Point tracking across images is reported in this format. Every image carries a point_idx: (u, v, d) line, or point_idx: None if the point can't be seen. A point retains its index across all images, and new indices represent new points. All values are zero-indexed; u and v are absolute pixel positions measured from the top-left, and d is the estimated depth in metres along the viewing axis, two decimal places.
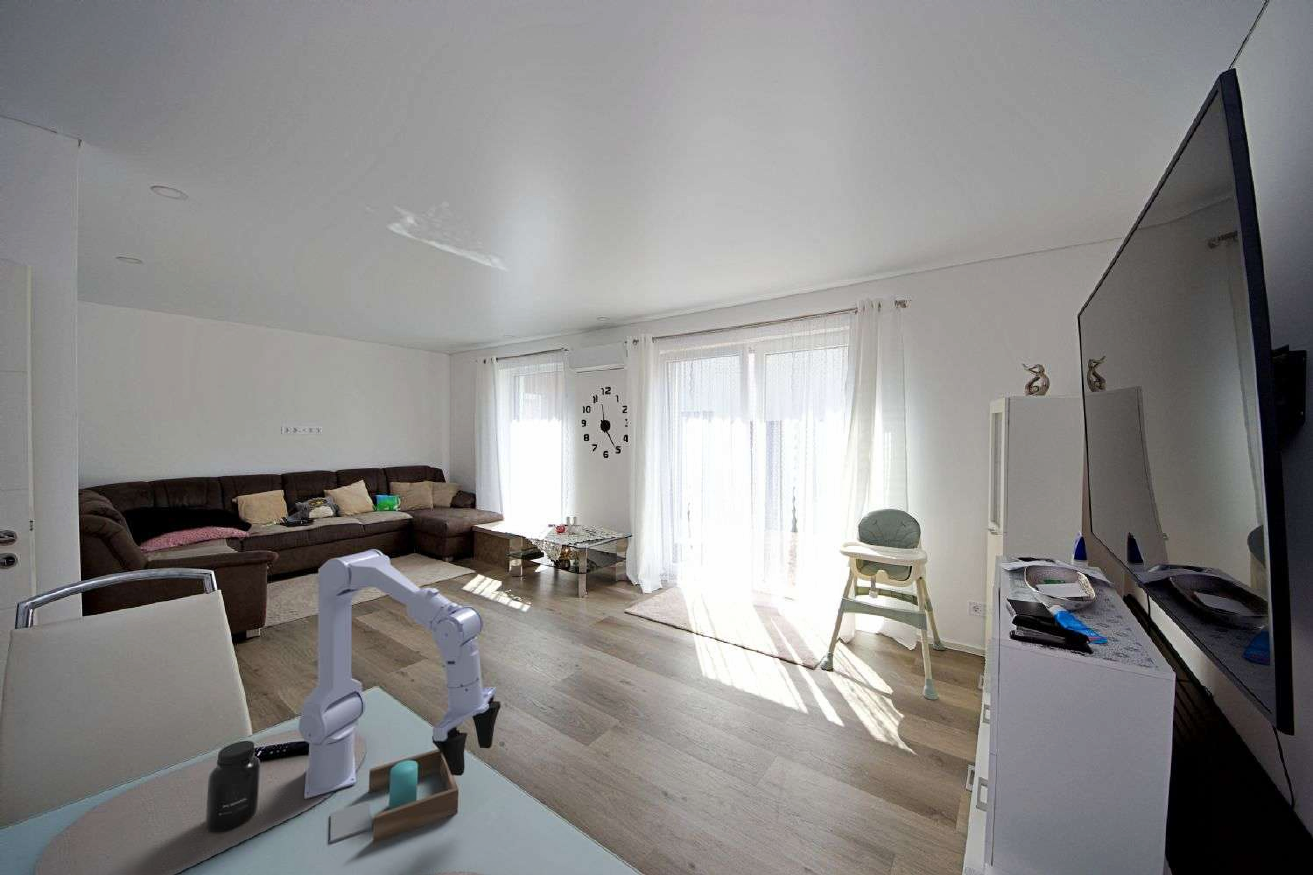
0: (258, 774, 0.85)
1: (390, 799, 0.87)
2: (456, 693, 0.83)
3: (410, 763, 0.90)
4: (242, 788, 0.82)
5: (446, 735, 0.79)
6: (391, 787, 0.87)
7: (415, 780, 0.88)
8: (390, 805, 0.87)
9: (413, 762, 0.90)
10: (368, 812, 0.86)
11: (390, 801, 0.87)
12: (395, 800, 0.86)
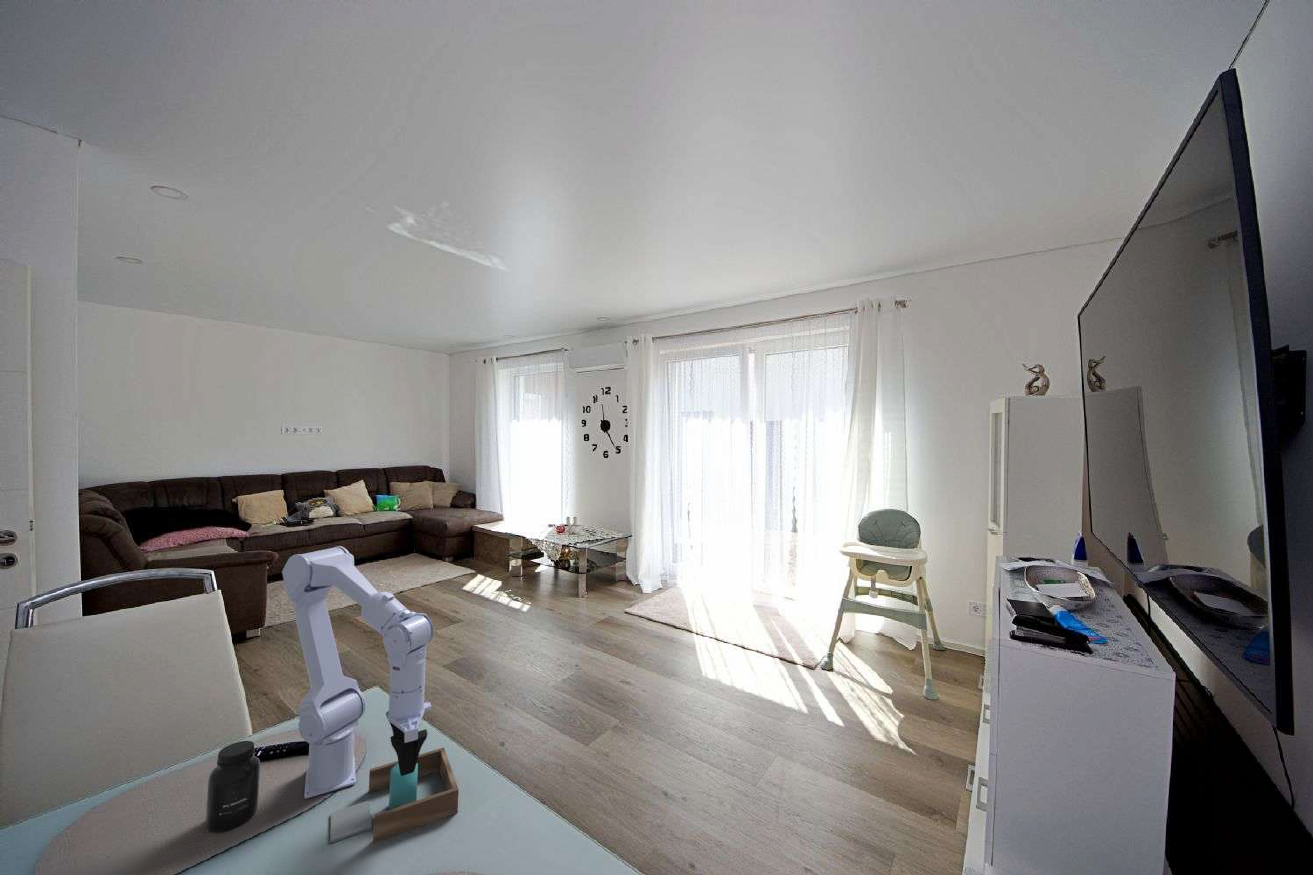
0: (258, 774, 0.85)
1: (390, 799, 0.87)
2: (412, 696, 0.86)
3: None
4: (242, 788, 0.82)
5: None
6: (391, 787, 0.87)
7: (415, 780, 0.88)
8: (390, 805, 0.87)
9: None
10: (368, 812, 0.86)
11: (390, 801, 0.87)
12: (395, 800, 0.86)
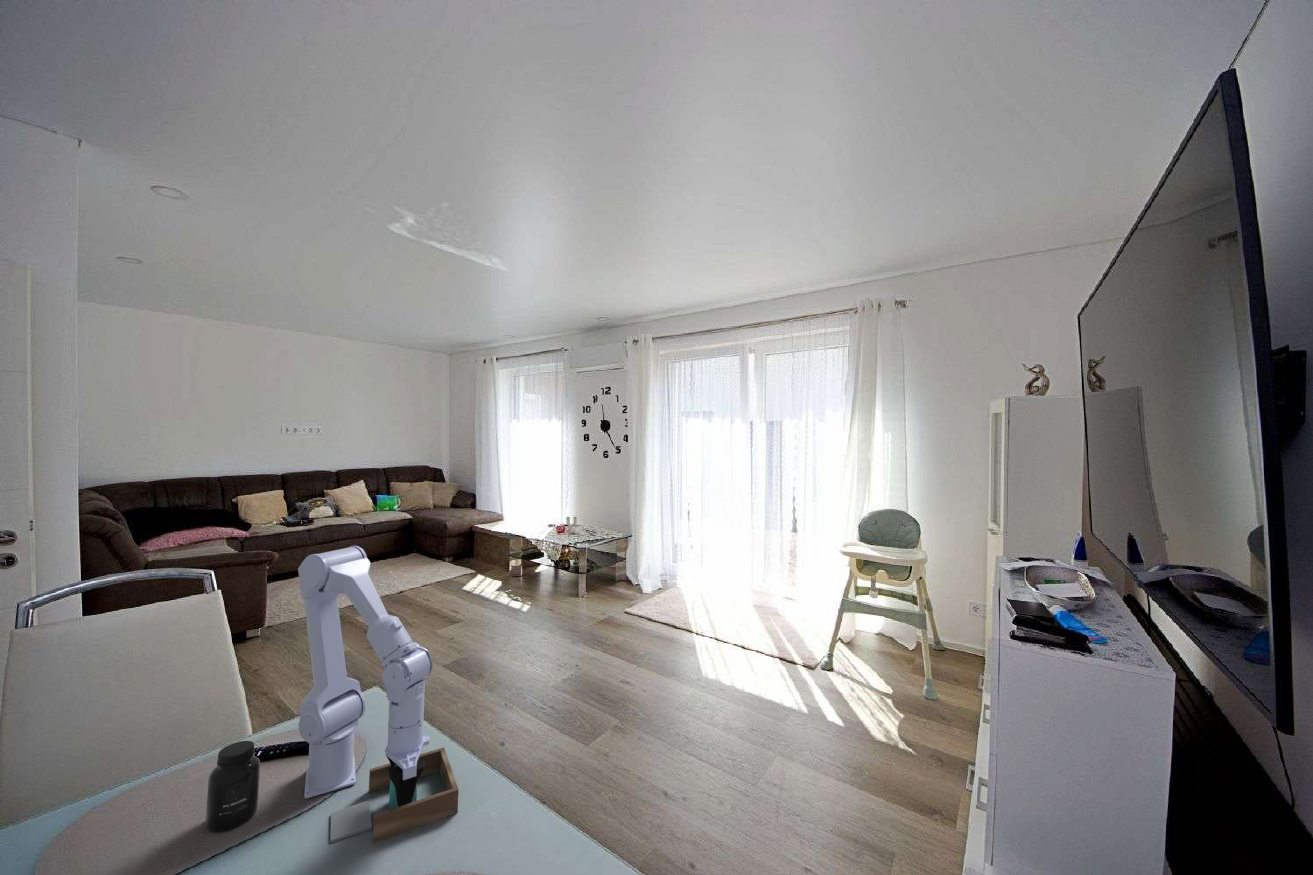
0: (258, 774, 0.85)
1: (390, 799, 0.87)
2: (411, 731, 0.86)
3: None
4: (242, 788, 0.82)
5: None
6: (391, 787, 0.87)
7: None
8: (390, 805, 0.87)
9: None
10: (368, 812, 0.86)
11: (390, 801, 0.87)
12: (395, 800, 0.86)
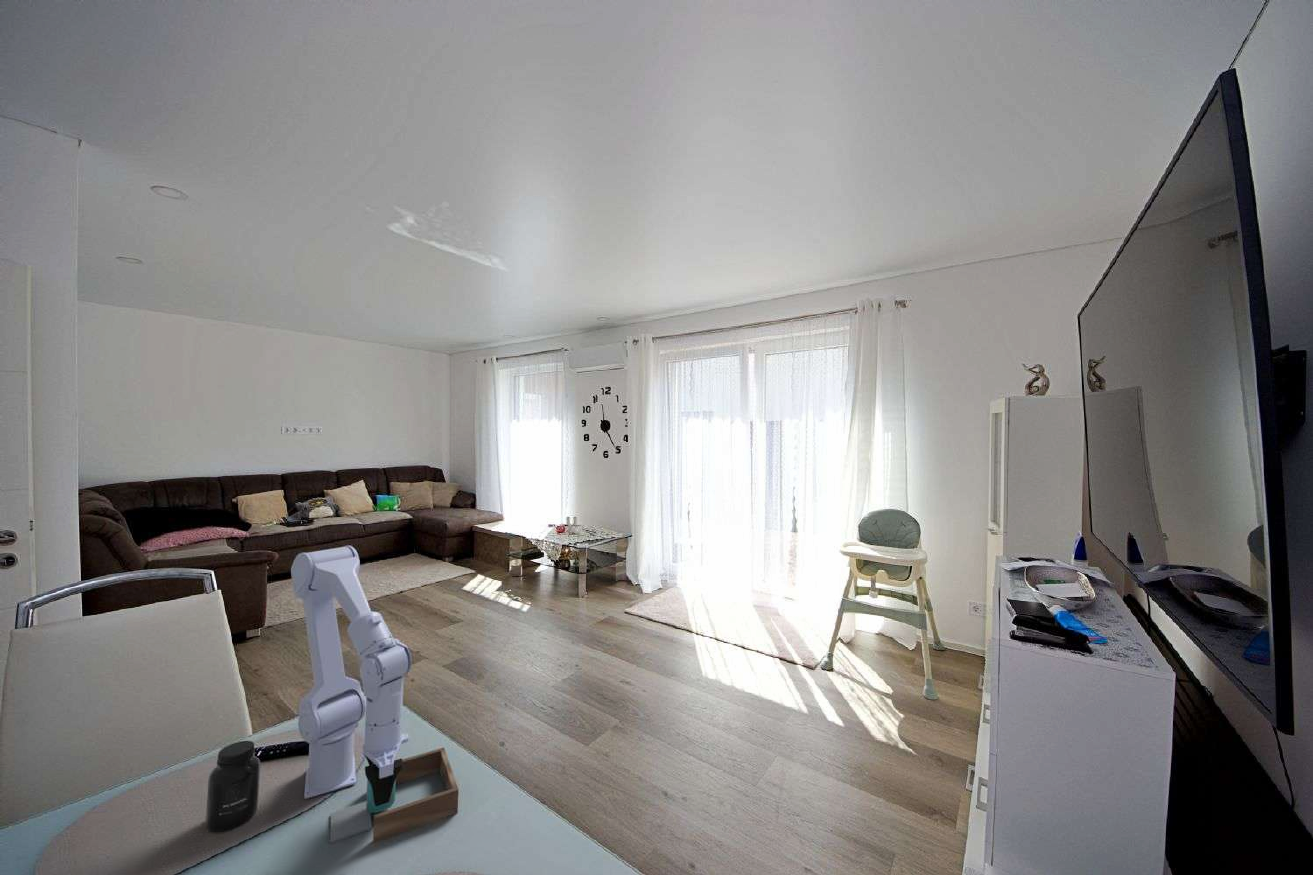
0: (258, 774, 0.85)
1: (367, 798, 0.85)
2: (388, 729, 0.84)
3: None
4: (242, 788, 0.82)
5: None
6: (368, 786, 0.85)
7: None
8: (367, 804, 0.85)
9: None
10: (368, 812, 0.86)
11: (367, 800, 0.85)
12: (372, 799, 0.84)
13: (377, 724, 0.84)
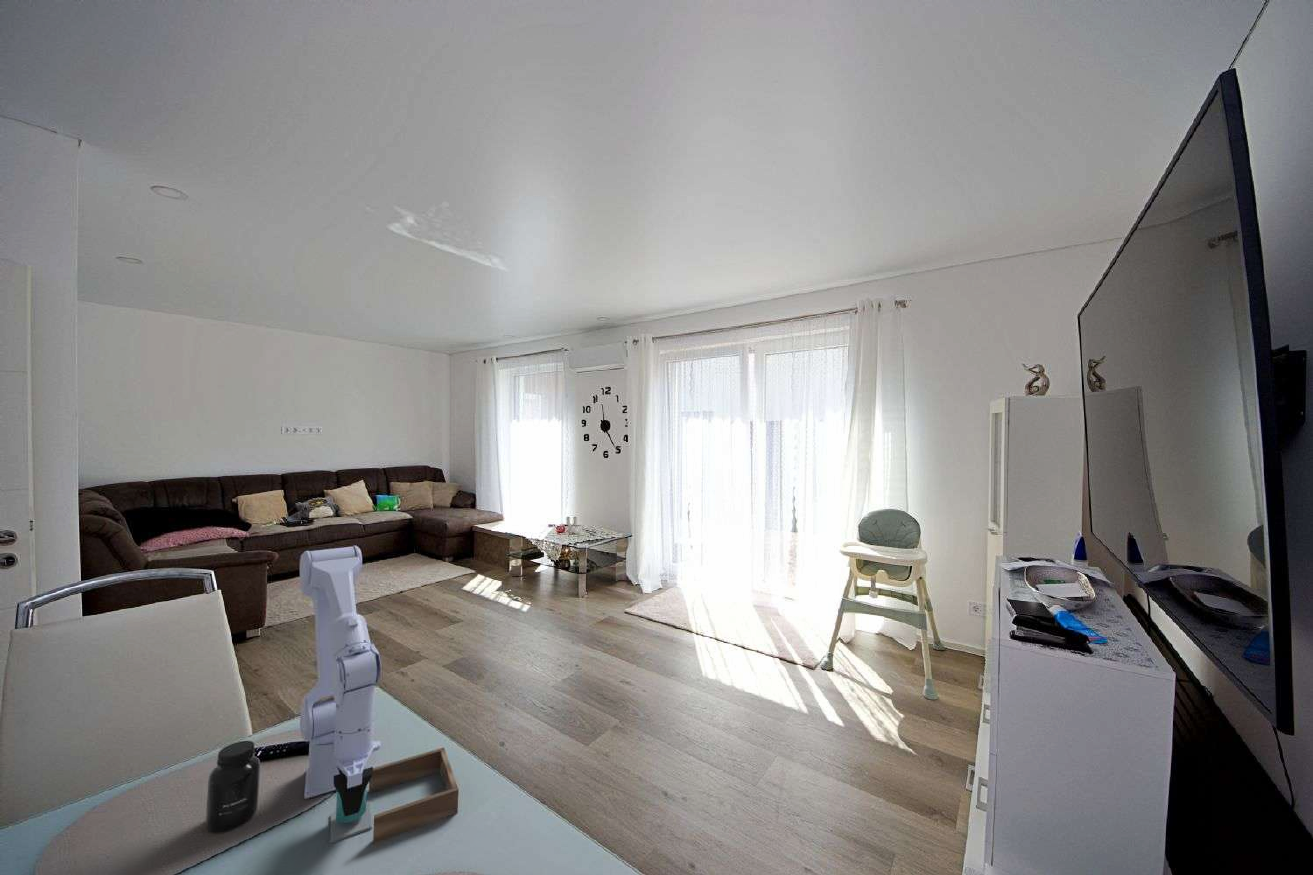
0: (258, 774, 0.85)
1: (337, 808, 0.82)
2: (358, 736, 0.82)
3: None
4: (242, 788, 0.82)
5: None
6: (338, 795, 0.82)
7: None
8: (336, 814, 0.82)
9: None
10: (368, 812, 0.86)
11: (337, 810, 0.82)
12: (341, 809, 0.82)
13: (342, 732, 0.81)
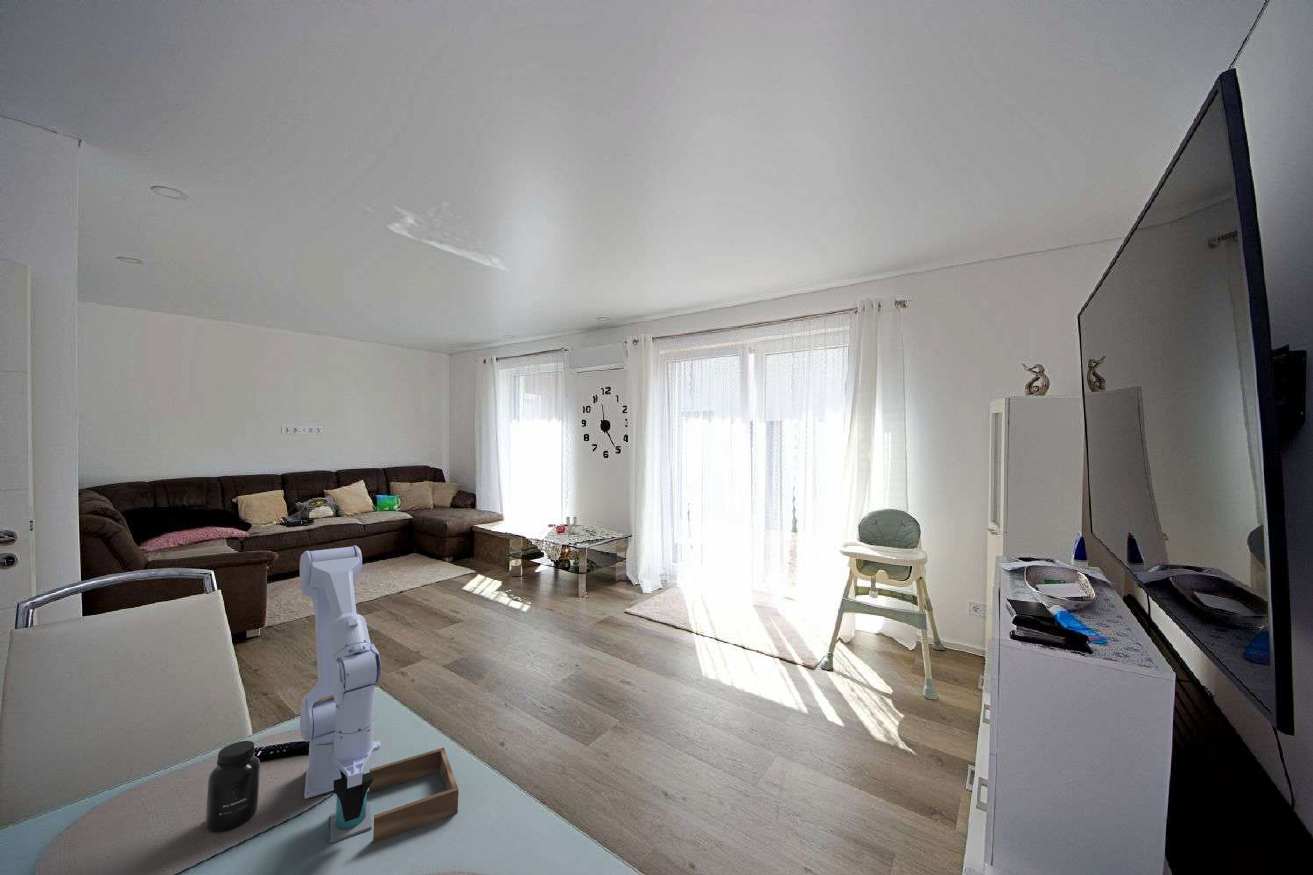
0: (258, 774, 0.85)
1: (336, 814, 0.82)
2: (358, 736, 0.82)
3: None
4: (242, 788, 0.82)
5: None
6: (337, 802, 0.82)
7: None
8: (336, 821, 0.82)
9: None
10: (368, 812, 0.86)
11: (336, 816, 0.82)
12: (341, 815, 0.82)
13: (342, 731, 0.81)
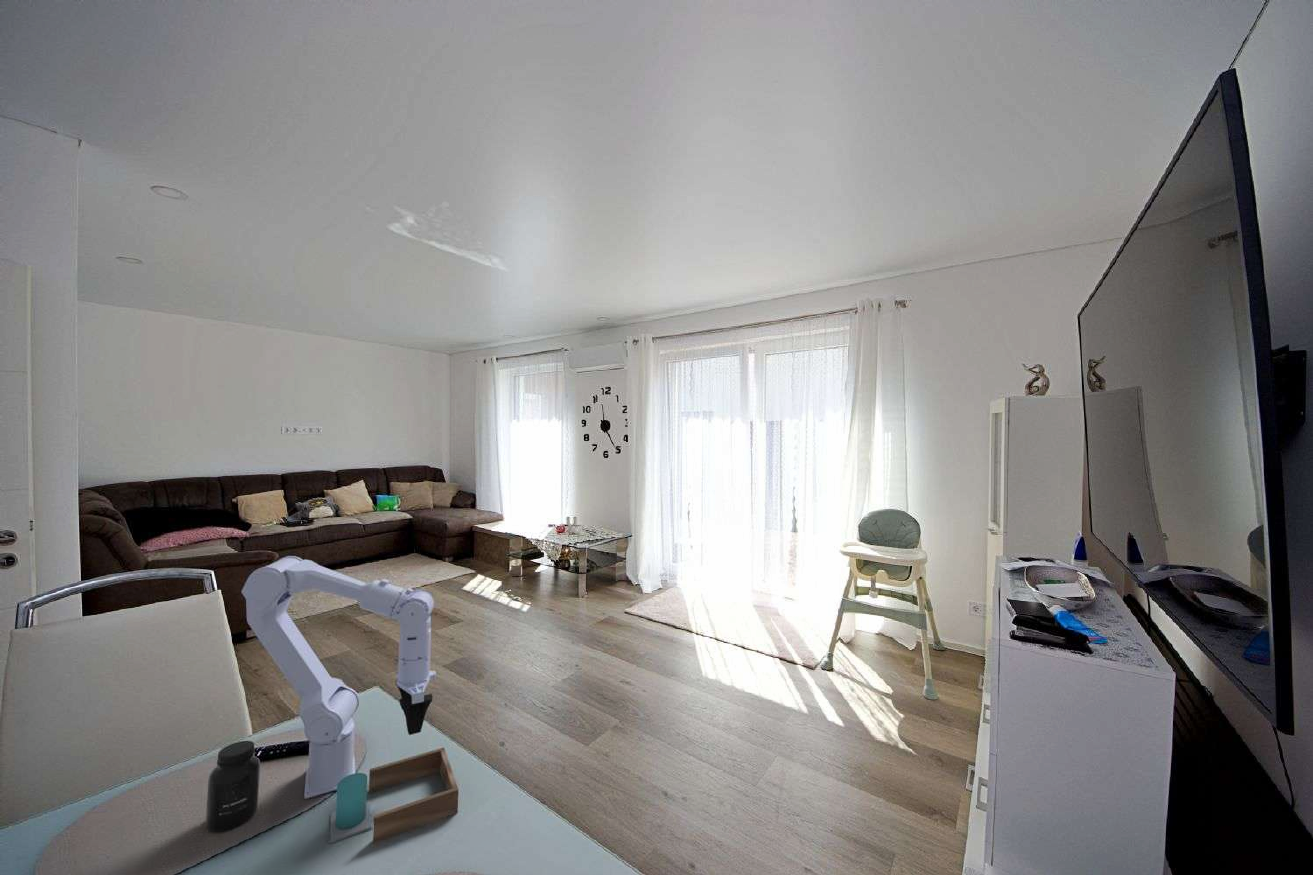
0: (258, 774, 0.85)
1: (336, 814, 0.82)
2: (419, 664, 0.95)
3: (359, 776, 0.85)
4: (242, 788, 0.82)
5: None
6: (337, 802, 0.82)
7: (364, 794, 0.84)
8: (336, 821, 0.82)
9: (363, 775, 0.86)
10: (368, 812, 0.86)
11: (336, 816, 0.82)
12: (341, 815, 0.82)
13: (421, 657, 0.96)
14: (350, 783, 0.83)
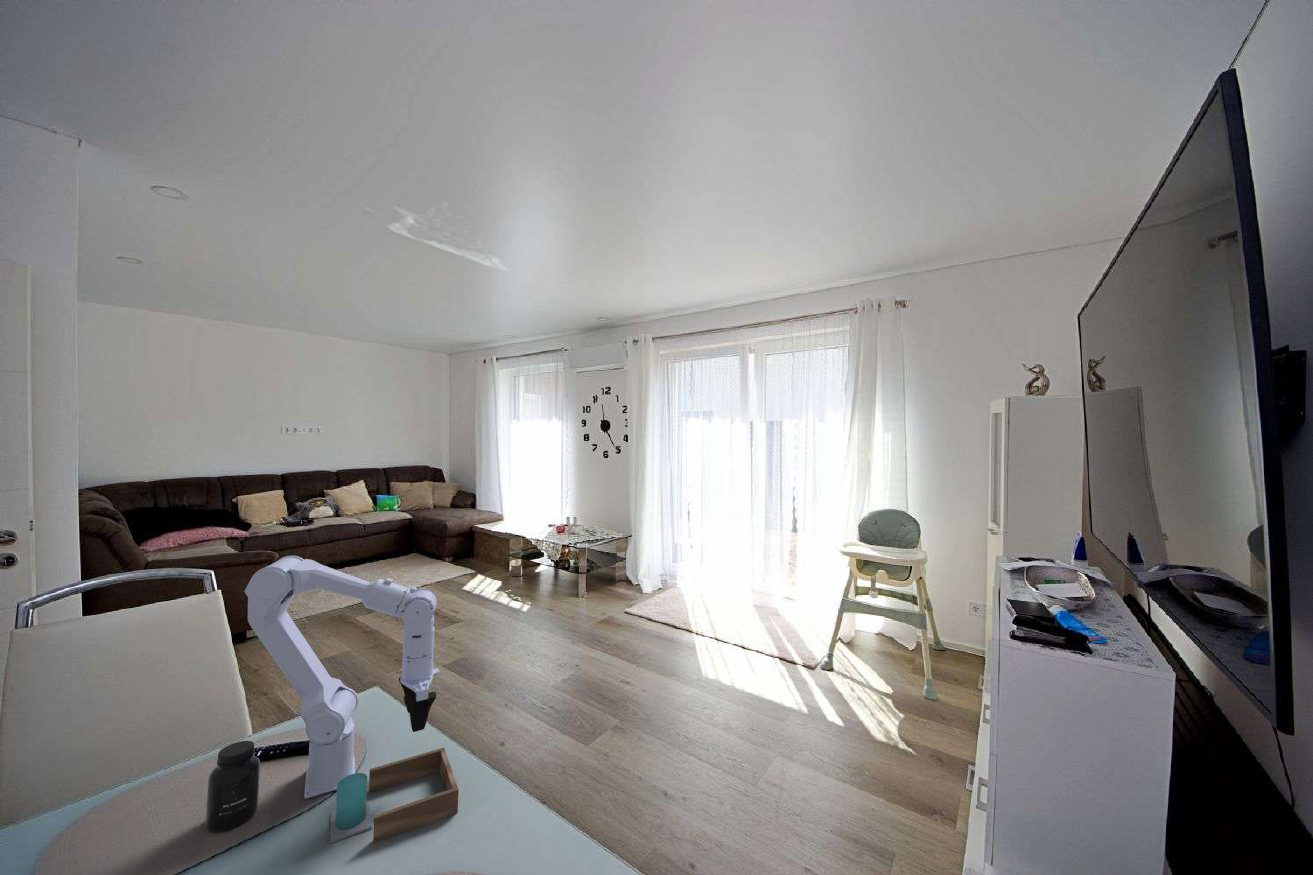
0: (258, 774, 0.85)
1: (336, 814, 0.82)
2: (423, 661, 0.97)
3: (359, 776, 0.85)
4: (242, 788, 0.82)
5: None
6: (337, 802, 0.82)
7: (364, 794, 0.84)
8: (336, 821, 0.82)
9: (363, 775, 0.86)
10: (368, 812, 0.86)
11: (336, 816, 0.82)
12: (341, 815, 0.82)
13: (426, 654, 0.97)
14: (350, 783, 0.83)
